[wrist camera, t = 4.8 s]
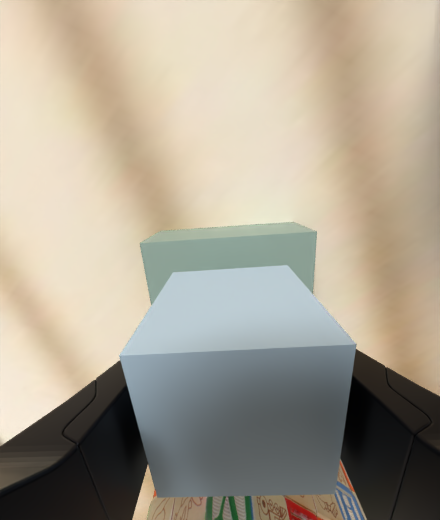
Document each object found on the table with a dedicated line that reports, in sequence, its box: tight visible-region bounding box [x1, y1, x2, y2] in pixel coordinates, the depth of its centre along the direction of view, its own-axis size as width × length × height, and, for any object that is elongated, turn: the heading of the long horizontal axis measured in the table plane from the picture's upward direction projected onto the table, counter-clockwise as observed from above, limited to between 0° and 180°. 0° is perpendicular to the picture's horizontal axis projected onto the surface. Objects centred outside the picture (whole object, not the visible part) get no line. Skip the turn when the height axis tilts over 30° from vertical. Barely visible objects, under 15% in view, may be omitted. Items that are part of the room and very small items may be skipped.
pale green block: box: [140, 222, 317, 306], centre depth 14 cm, size 9×7×4 cm
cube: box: [119, 265, 356, 498], centre depth 8 cm, size 5×5×5 cm
